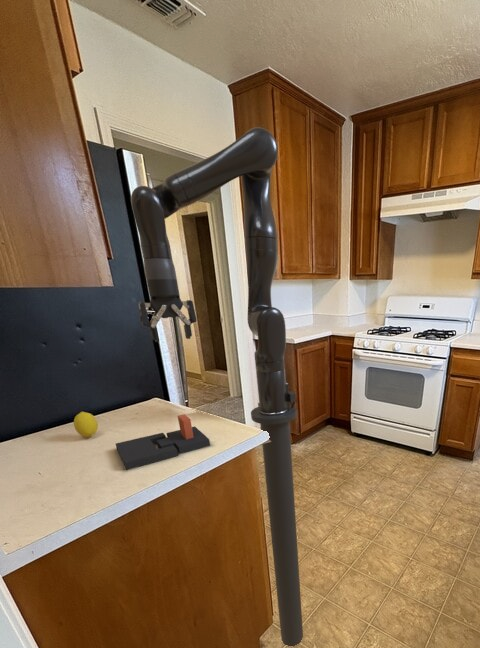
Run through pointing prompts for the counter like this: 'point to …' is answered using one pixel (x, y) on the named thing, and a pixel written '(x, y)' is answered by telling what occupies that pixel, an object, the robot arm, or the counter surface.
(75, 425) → the lemon
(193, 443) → the pad
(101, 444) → the counter surface
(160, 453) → the base pad
